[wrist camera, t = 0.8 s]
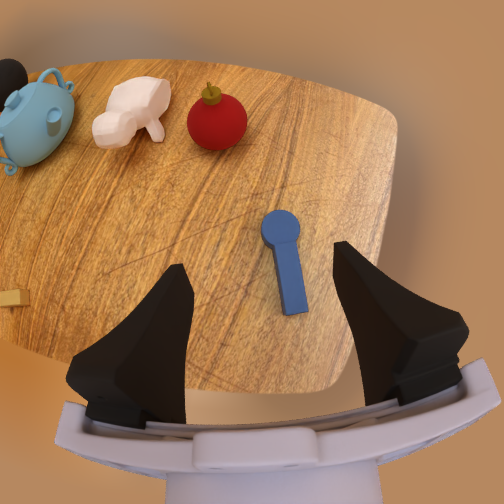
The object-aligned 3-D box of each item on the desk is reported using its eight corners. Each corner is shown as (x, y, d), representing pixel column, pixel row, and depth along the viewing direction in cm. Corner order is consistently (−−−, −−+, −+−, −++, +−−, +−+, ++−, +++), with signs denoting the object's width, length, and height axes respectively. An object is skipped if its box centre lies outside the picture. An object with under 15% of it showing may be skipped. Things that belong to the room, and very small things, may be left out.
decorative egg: (-3, 122, 37) (-34, 93, 23) (23, 84, 40) (-3, 53, 25) (15, 121, 36) (-20, 87, 22) (45, 80, 39) (17, 43, 24)
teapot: (60, 92, 37) (32, 54, 24) (121, 100, 35) (91, 46, 22) (5, 173, 33) (-34, 145, 21) (52, 204, 31) (-4, 169, 19)
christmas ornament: (188, 127, 33) (170, 75, 23) (238, 112, 33) (234, 57, 24) (200, 168, 32) (181, 117, 22) (255, 151, 32) (255, 96, 22)
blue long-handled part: (311, 309, 28) (317, 309, 25) (274, 316, 28) (276, 317, 25) (293, 213, 30) (297, 203, 27) (258, 218, 30) (258, 209, 27)
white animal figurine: (134, 115, 37) (89, 173, 29) (124, 71, 30) (67, 120, 22) (181, 112, 37) (145, 172, 29) (176, 64, 30) (128, 110, 22)
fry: (29, 290, 29) (19, 288, 27) (29, 305, 28) (20, 304, 26) (2, 293, 29) (-7, 292, 26) (3, 307, 28) (-6, 306, 26)
